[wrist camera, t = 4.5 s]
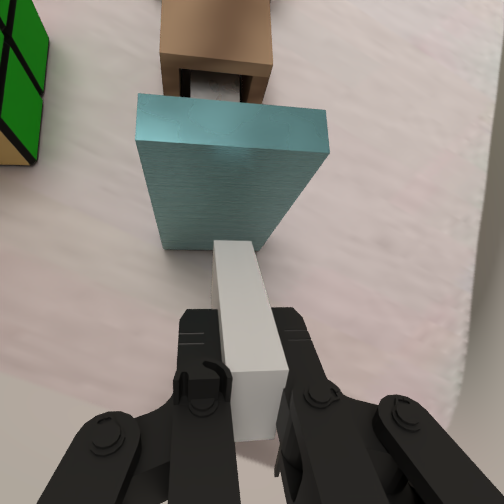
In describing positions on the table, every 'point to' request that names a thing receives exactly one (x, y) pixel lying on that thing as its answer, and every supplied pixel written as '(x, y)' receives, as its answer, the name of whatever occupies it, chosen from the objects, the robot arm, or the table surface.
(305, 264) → the table surface
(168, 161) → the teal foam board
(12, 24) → the puzzle cube
